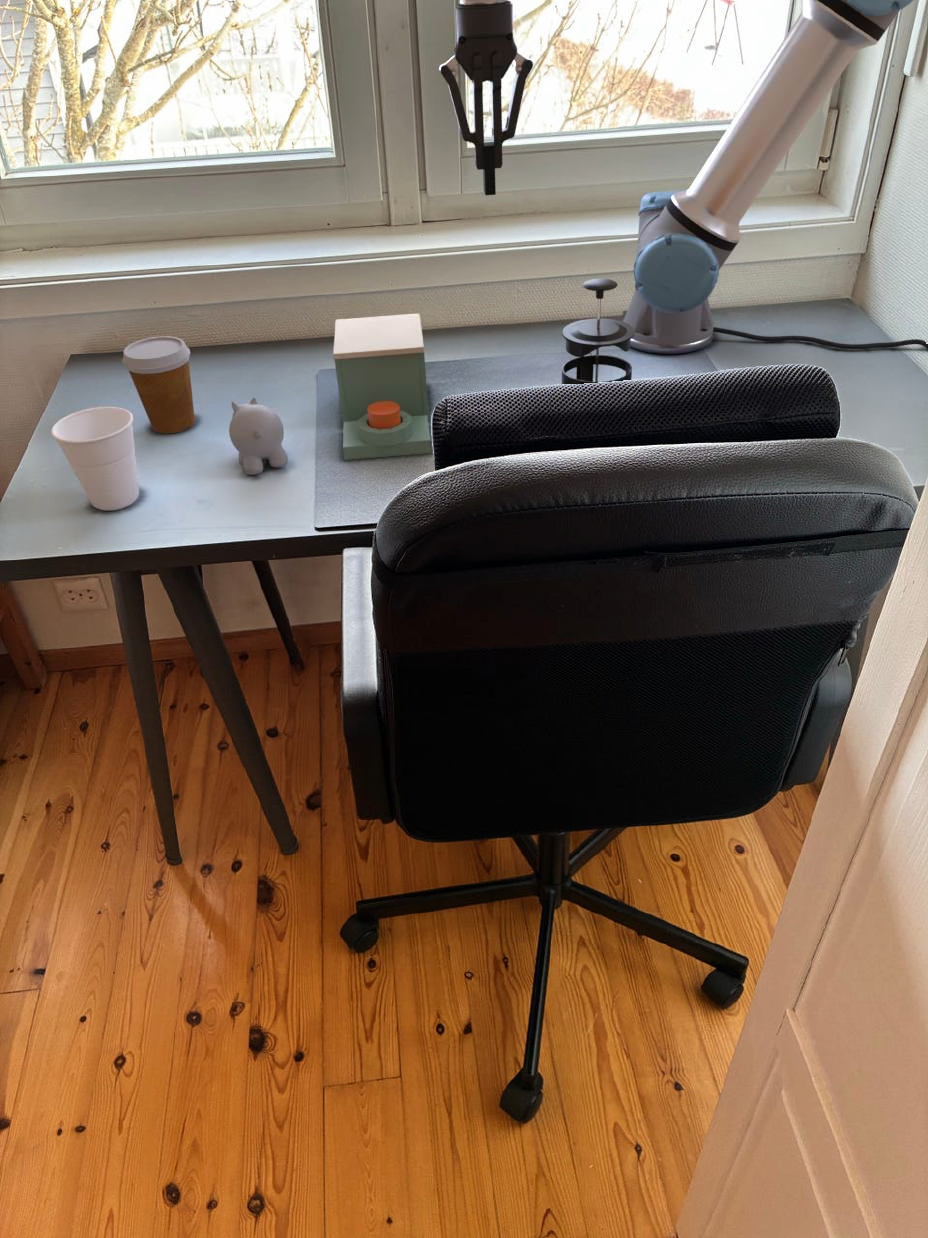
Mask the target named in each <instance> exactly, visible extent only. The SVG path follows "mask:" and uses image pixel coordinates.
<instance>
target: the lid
mask: <svg viewBox="0 0 928 1238" xmlns="http://www.w3.org/2000/svg"><path fill="white" fill-rule="evenodd" d="M334 325H335V326H334V338H333V354H332V356H333V360H335V359H345V358H358V357H371V356H384V355H397V354H410V353H423V352H424V353H425V345H424V336H423V329H422V322H421V314H420V313H419V312H418V313H406V314H393V315H380V316H367V317H366V316H365V317H354V318H341V319H340V318H339V319H338V318H337V319H335V323H334Z"/></svg>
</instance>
